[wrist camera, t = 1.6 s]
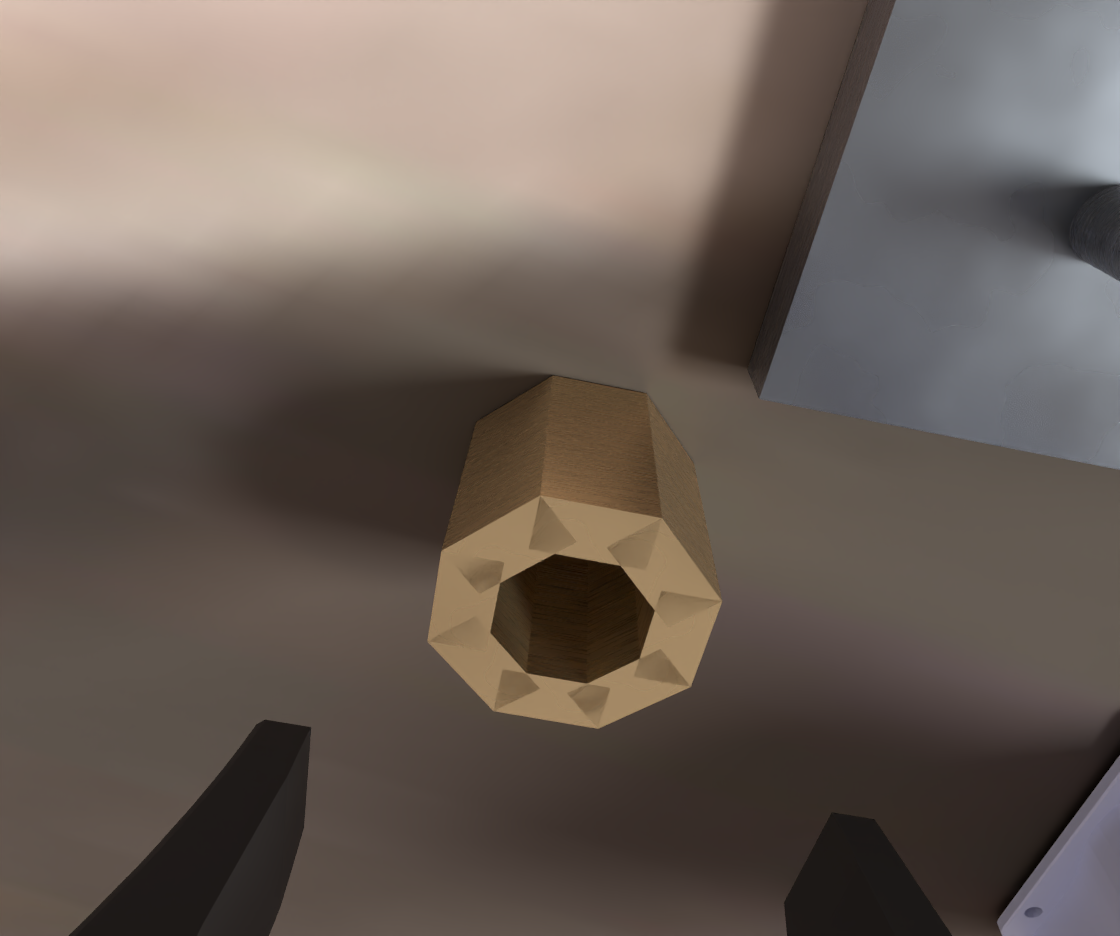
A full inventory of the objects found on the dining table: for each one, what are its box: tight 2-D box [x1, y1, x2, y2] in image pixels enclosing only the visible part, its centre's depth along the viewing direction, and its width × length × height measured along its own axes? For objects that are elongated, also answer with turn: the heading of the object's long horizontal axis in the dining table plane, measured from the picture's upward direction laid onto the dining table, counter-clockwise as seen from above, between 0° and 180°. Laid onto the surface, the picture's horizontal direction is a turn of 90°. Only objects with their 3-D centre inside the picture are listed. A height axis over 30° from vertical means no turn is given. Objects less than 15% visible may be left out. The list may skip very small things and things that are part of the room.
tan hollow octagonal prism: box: [428, 375, 722, 729], centre depth 18 cm, size 5×5×5 cm
